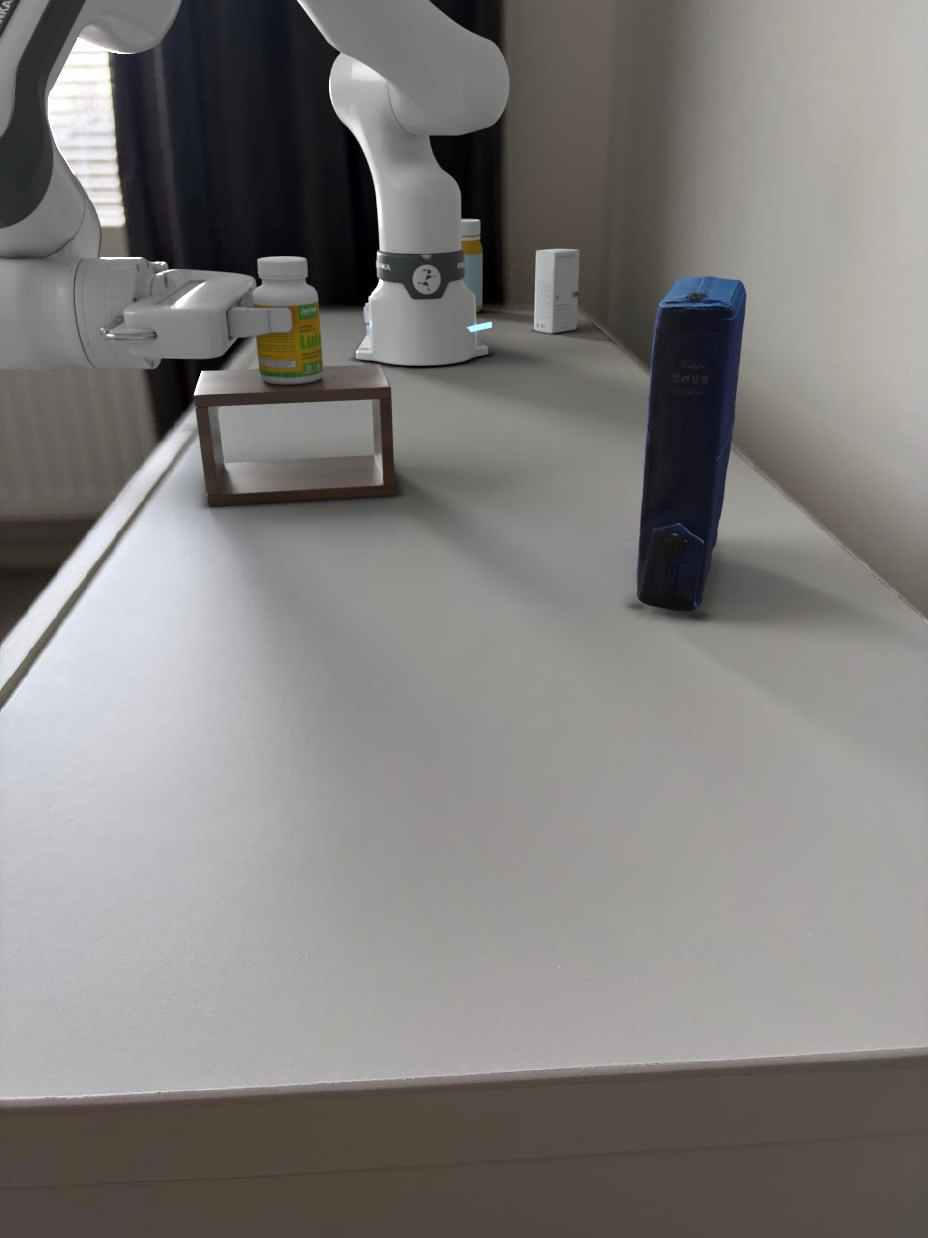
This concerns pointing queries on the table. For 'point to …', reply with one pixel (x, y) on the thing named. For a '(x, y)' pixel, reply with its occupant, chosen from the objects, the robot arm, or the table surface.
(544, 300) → the cosmetic box
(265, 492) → the shelf
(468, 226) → the bottle
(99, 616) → the table surface
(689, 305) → the book
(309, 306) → the supplement bottle
